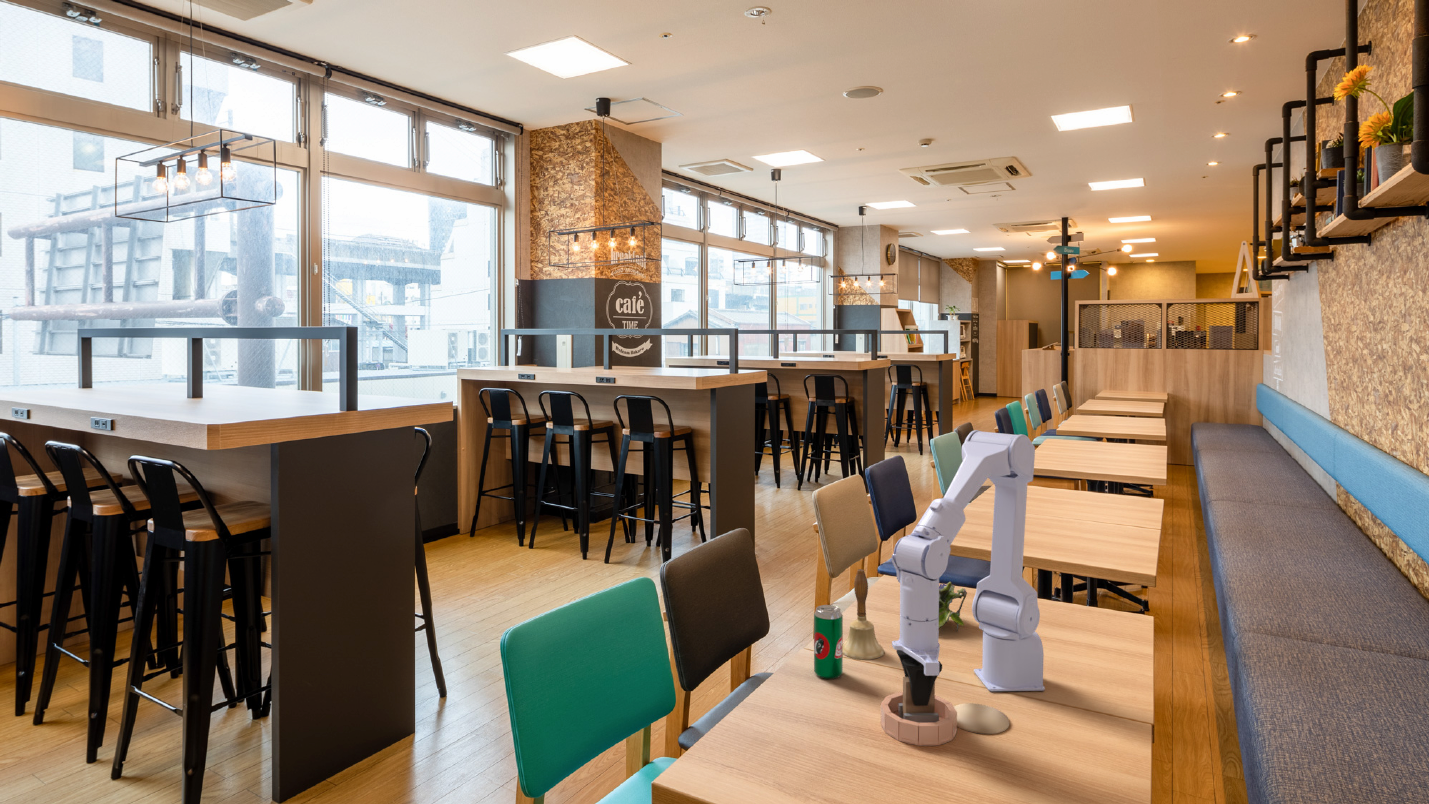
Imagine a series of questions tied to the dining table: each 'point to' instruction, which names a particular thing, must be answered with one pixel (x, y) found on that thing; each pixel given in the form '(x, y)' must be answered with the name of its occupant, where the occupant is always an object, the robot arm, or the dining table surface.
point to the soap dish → (919, 722)
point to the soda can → (828, 642)
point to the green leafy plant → (945, 599)
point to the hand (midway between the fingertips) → (918, 701)
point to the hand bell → (862, 627)
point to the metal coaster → (981, 718)
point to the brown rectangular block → (908, 703)
